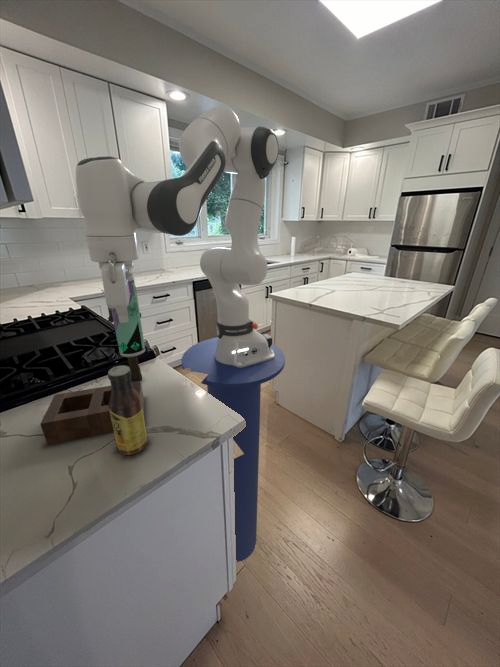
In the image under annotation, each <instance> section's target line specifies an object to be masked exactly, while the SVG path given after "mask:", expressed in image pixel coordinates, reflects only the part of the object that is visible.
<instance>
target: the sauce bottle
mask: <svg viewBox="0 0 500 667" xmlns="http://www.w3.org/2000/svg"><path fill="white" fill-rule="evenodd" d="M107 377H108V380H109V382H110V386H111V387H112V391H111V396H110V401H109V406H108V408H109V412H110V417H111V421H112V426H113V430H114V431H113V435H114V439H115V443H116V447H117V449H118V451H119V452H120V453H121V454H122V455H125V456H130V455H131V456H132V455H135V454H138V453H140V452H141V451H142V450H144V449H145V448H146V445H147V442H148V441H147V437H148V435H147V428H146V424H145V423H146V422H145V414H144V415H143V408H142V405H141V399H140V395H139V392H138V391H137V390H135V389H134V388H133V385H132V382H131V370H130V368H129V365H123V364H122V365H117V366H113V367H111V368H110V369H109V370H108V371H107Z"/></svg>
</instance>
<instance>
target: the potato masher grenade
mask: <svg viewBox="0 0 500 667" xmlns="http://www.w3.org/2000/svg"><path fill="white" fill-rule="evenodd" d="M135 288H136V289H137V287H136V285H135ZM136 294H137V295H138V292H137V291H136ZM137 301H138V302H139V300H138V298H137ZM138 307H139V308H140V305H139V304H138ZM107 310H108V315H109V316H108V321H109V322H111V323H114V322H113V317H112V312H111V308H108V307H107ZM139 313H140V319H142V312H140V311H139ZM127 362H128V363H127V364H128V367H129V368H130V370H131V382H136V381H141V382H142V381H143V375H142V370H141V367H140V364H139V359H138V356H133V357H127Z"/></svg>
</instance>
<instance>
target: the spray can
mask: <svg viewBox="0 0 500 667" xmlns="http://www.w3.org/2000/svg"><path fill="white" fill-rule="evenodd" d="M133 275H134V274H133V272H132V273H130V272H128V271H126V278H127V279H128V285H129V291H130V299H129V305H128V307H127V312H128V317H129V321H128V322H126V323H120V322H119V318H118V314H117V312H116V309H115V308H111V312H112V317H113V322H112V323H113V327H114V332H115V337H116V342H117V346H118V351H119V355H120V356H121V357H123V358H128V357H133V356H137V357H138V356H140V355H142V354H144V353H145V352H146V346H145V338H144V334H143V333H144V332H143V326H142V320H141V319H142V318H140V313H141V312H140V306H139V307H138V305H139V300H138V301H137V299H138V293H137V294H136V292H137V287H136V288H135V286H136V284H135V283H136V282H135V277H134V276H133ZM112 283H113V282H112ZM139 312H140V313H139Z"/></svg>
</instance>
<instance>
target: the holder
mask: <svg viewBox="0 0 500 667" xmlns="http://www.w3.org/2000/svg"><path fill="white" fill-rule="evenodd" d="M132 385H133V388H134V389H135V390H137V391H138V392H139V395H140V399H141V405H142V408H143V415H144V416H145V398H144V392H143V385H142V381H136V382H132ZM111 391H112V387H111V385H105V386H99V387H93V388H87V389H80V390H74V391H69V392H63V393H56V394H54V395H53V397H52V400H51V401H50V403H49V406H48V408H47V409H46V411H45V414H44V416H43V417H42V419H41V421H40V427H41V430H42V433H43V436H44V439H45V442H46V444H47V446H51V445H55V444H60V443H65V442H69V441H70V442H71V441H74V440H79V439H84V438H87V437H93V436H97V435H103V434H108V433H114V430H113V426H112V421H111V417H110V412H109V408H108V406H109V401H110V396H111Z"/></svg>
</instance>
